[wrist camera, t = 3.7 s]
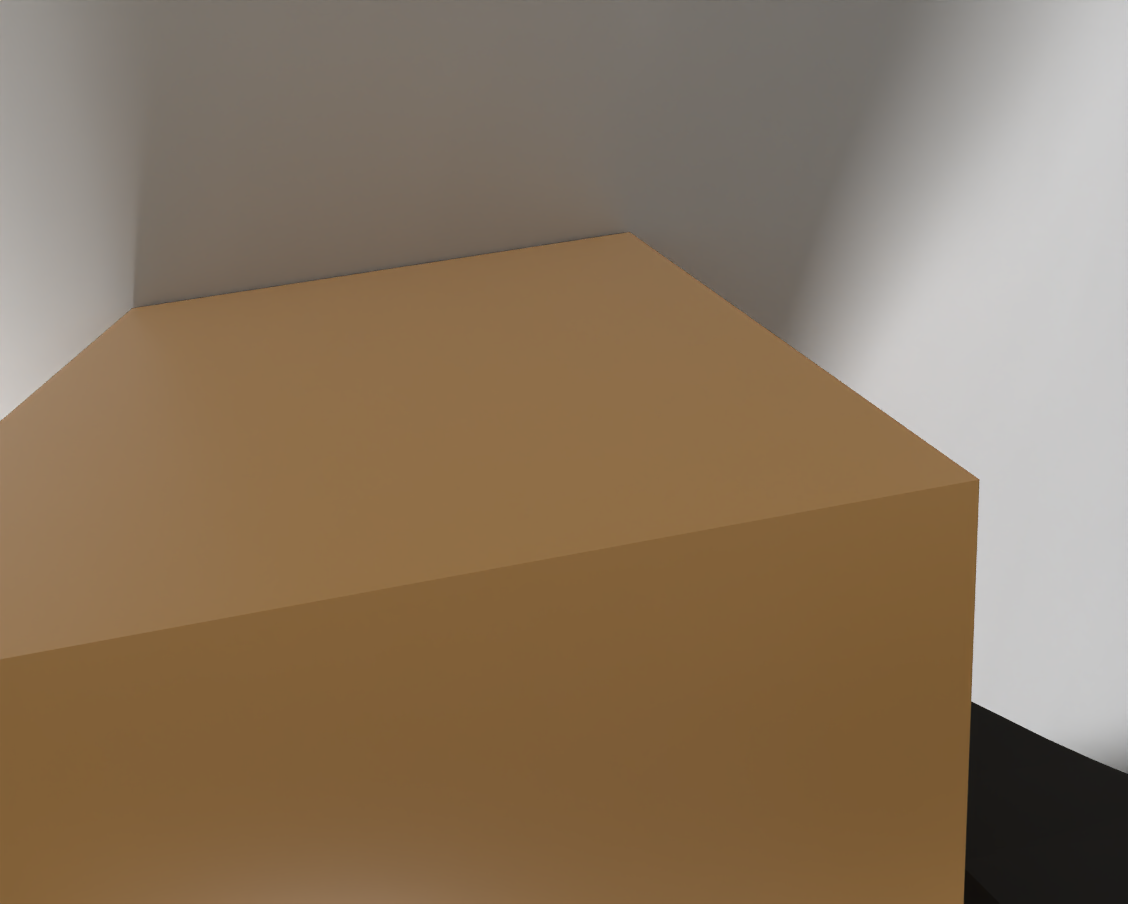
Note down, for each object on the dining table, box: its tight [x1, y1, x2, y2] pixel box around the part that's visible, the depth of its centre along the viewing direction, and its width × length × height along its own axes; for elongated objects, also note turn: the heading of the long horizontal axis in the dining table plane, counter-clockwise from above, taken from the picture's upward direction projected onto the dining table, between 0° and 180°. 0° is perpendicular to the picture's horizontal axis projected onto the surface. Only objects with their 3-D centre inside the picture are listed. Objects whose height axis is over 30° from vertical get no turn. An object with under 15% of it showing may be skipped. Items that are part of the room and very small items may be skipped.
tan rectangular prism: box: [0, 232, 979, 904], centre depth 8 cm, size 4×8×6 cm, turn 7°
